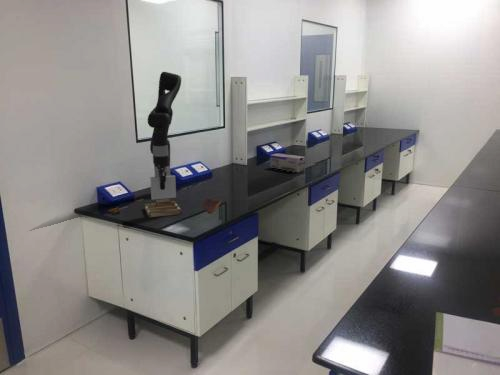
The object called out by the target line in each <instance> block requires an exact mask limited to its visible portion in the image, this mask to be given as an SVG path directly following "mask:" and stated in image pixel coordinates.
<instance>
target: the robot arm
mask: <svg viewBox="0 0 500 375" xmlns="http://www.w3.org/2000/svg"><path fill="white" fill-rule="evenodd" d="M181 85H182V76H181V75H178V74H176V73H172V72H168V71H162V72H161V73H160V76H159V79H158V93H157V94H158V95H157V102H156V105H155V107H154V108H153V109H152V110H151V111H150V113H149V114H148V117H147V124H148V125H149V127H150V128H152V129H153V131H152V135H151V140H150V144H149V145H150V146H149V147H150V148H149V149H150V150H149V151H150V153H151V154H152V163H153V166H154V168H153V169H154V177H159V178H160V189H161V190H163V189H165V182H166V176H171V144H170V140H169V138H168V137H169V136H168V135H169V129H170V126H171V123H172V122H173V121H172V120H173V114H174V111H173V108H172V105H173V102H174V101H175V99H176V98H177V96H178V94H179V91H180V88H181ZM166 91H167V92H166Z"/></svg>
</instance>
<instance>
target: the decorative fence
mask: <svg viewBox="0 0 500 375" xmlns="http://www.w3.org/2000/svg"><path fill="white" fill-rule="evenodd" d="M139 201H140V202H141V201H145V198H140V199H138V200H136V202H139ZM107 211H108V213H110V214H111V213H112V214H115V215H116V214H119V215H120V210H119V206H118V207H115V208H112V209H108V210H107Z"/></svg>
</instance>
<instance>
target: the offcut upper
mask: <svg viewBox="0 0 500 375" xmlns="http://www.w3.org/2000/svg"><path fill="white" fill-rule="evenodd" d="M171 202H172V201H171V199H170V198H165V199H155V203H156V206H157V207H159V206H167V205H171Z"/></svg>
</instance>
